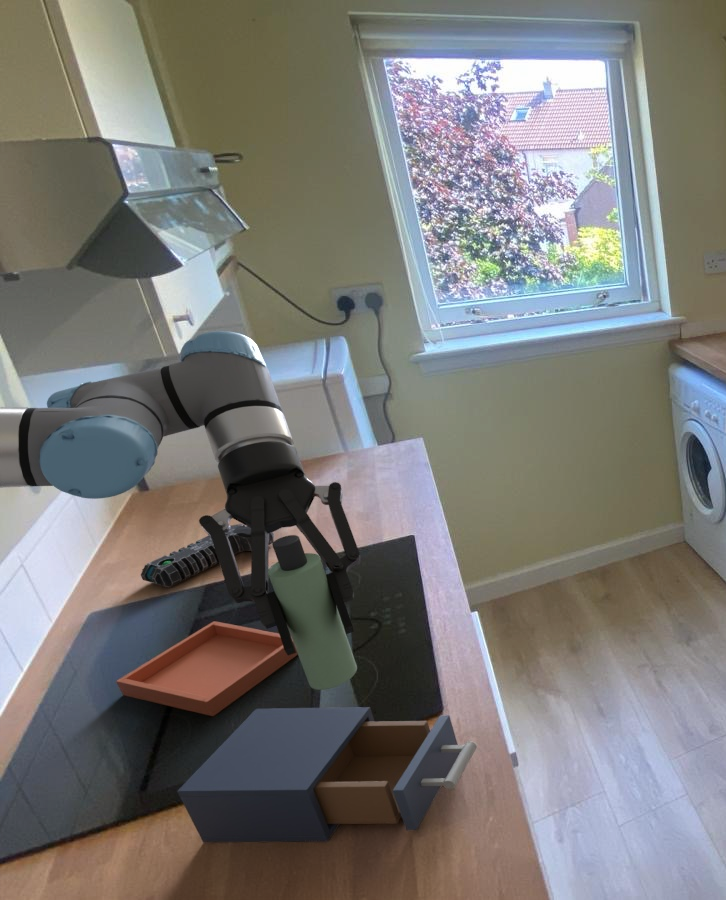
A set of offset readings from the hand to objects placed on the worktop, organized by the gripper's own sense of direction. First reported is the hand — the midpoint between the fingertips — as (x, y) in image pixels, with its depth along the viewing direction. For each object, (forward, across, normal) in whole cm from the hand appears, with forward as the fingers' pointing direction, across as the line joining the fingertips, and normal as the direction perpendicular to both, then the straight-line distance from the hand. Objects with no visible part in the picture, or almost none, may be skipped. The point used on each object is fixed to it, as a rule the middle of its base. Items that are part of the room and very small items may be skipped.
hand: (320, 640), depth 79 cm
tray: (-13, +14, -47) cm, 51 cm away
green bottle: (+3, 0, -8) cm, 8 cm away
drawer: (+17, -3, -16) cm, 23 cm away
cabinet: (+12, +7, -22) cm, 26 cm away
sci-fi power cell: (-41, +13, -75) cm, 86 cm away
